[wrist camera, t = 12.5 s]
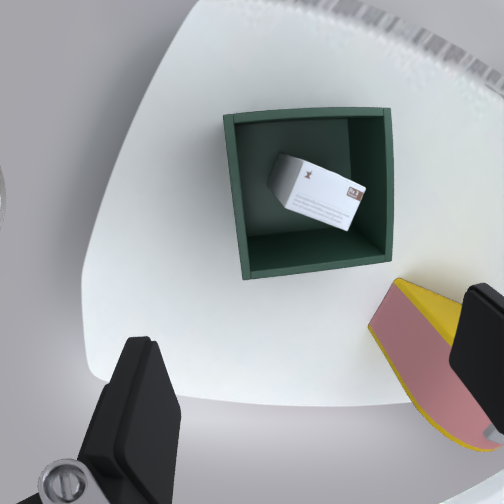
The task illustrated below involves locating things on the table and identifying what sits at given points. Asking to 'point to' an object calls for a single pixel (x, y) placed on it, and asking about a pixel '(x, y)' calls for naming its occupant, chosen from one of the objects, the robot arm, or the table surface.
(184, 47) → the table surface
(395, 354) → the alarm clock
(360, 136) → the bin
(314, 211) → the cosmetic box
